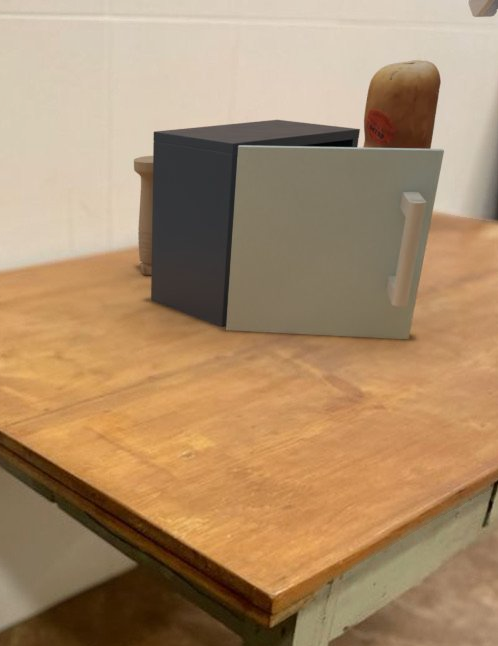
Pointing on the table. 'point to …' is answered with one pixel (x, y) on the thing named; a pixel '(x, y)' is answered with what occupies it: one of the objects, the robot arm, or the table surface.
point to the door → (330, 239)
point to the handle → (145, 212)
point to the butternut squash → (402, 106)
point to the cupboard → (209, 206)
